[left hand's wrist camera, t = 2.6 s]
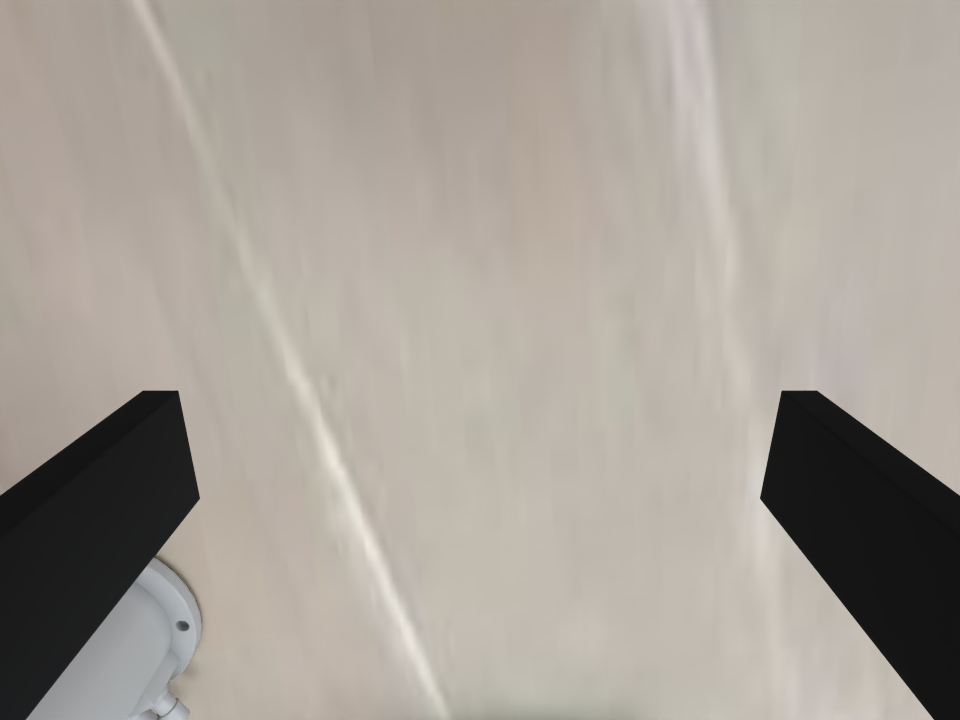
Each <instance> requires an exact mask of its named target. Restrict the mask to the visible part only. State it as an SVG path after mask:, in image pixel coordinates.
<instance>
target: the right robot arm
mask: <svg viewBox="0 0 960 720" xmlns="http://www.w3.org/2000/svg"><path fill="white" fill-rule="evenodd" d="M201 630H202V623H201V616H200V611H199V609H198V606H197V603H196V601H195V598H194V597H193V595H192V594H191V592H190V590H189V589H188V587H187V586H186V584H185V583H184V582H183V581H182V580H181V579H180V578H179V577H178V576H177V575H176V574H175V573H174V571H172V570H171V569H170V568H168V567H167V566H166V565H165V564H163V563H162V562H161V561H159V560H158V559H156V558H153V559H152V560H151V561H150V563H149V564H148V565H147V567H146V568H145V569H144V570H143V572H142V573H141V574H140V575H139V577H138V578H137V579H136V580H135V582H134V583H133V584H132V586H131V587H130V588H129V589H128V591H127V592H126V593H125V594H124V596H123V597H122V598H121V600H120V601H119V602H118V603H117V605H116V606H115V607H114V608H113V610H112V611H111V612H110V614H109V615H108V616H107V617H106V619H105V620H104V621H103V622H102V624H101V625H100V626H99V627H98V629H97V630H96V631H95V633H94V634H93V635H92V636H91V638H90V639H89V640H88V641H87V643H86V644H85V645H84V647H83V648H82V649H81V650H80V652H79V653H78V654H77V655H76V657H75V658H74V659H73V661H72V662H71V663H70V664H69V666H68V667H67V668H66V669H65V671H64V672H63V673H62V674H61V676H60V677H59V678H58V680H57V681H56V682H55V683H54V685H53V686H52V687H51V688H50V690H49V691H48V692H47V694H46V695H45V696H44V697H43V699H42V700H41V701H40V702H39V704H38V705H37V706H36V708H35V709H34V710H33V711H32V713H31V714H30V715H29V716H28V718H27V719H26V720H186V719H187V717H188V716H189V713H190V711H189V709H188V708H187V707H186V706H185V705H184V704H183V703H182V702H181V701H180V700H179V699H178V698H175V697H174V696H173V695H172V694H171V693H170V692H169V688H170V685H169V684H168V682H170V681H171V680H173V679H174V678H176V677H177V676H178V675H179V674H180V673H181V672H182V671H183V670H184V669H185V668H186V667H187V665H188V664H189V662H190V660H191V659H192V657H193V655H194V653H195V652H196V649H197V647H198V644H199V642H200V639H201ZM151 708H152V709H153V710H154V711H155V712H156V713H157V714H156V713H154V712H153V711H152V710H151Z"/></svg>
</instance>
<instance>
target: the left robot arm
mask: <svg viewBox="0 0 960 720" xmlns="http://www.w3.org/2000/svg"><path fill="white" fill-rule="evenodd" d="M199 499H200V496H199V491H198V486H197V481H196V477H195V472H194V467H193V462H192V457H191V452H190V447H189V442H188V437H187V432H186V427H185V422H184V417H183V412H182V407H181V402H180V397H179V392H178V391H142V392H141V393H139V394H138V395H136V396H135V397H134V398H132V399H131V400H130V401H128V402H127V403H126V404H124V405H123V406H122V407H120V408H119V409H117V410H116V411H115V412H113V413H112V414H111V415H109V416H108V417H107V418H105V419H104V420H102V421H101V422H100V423H98V424H97V425H96V426H94V427H93V428H92V429H90V430H89V431H88V432H86V433H85V434H83V435H82V436H81V437H79V438H78V439H77V440H75V441H74V442H73V443H71V444H70V445H69V446H67V447H66V448H64V449H63V450H62V451H60V452H59V453H58V454H56V455H55V456H54V457H52V458H51V459H49V460H48V461H47V462H45V463H44V464H43V465H41V466H40V467H39V468H37V469H36V470H35V471H33V472H32V473H30V474H29V475H28V476H26V477H25V478H24V479H22V480H21V481H20V482H18V483H17V484H15V485H14V486H13V487H11V488H10V489H9V490H7V491H6V492H5V493H3V494H2V495H1V496H0V720H26V719H27V718H28V716H29V715H30V714H31V713H32V711H33V710H34V709H35V708H36V706H37V705H38V704H39V702H40V701H41V700H42V699H43V697H44V696H45V695H46V694H47V692H48V691H49V690H50V688H51V687H52V686H53V685H54V683H55V682H56V681H57V680H58V678H59V677H60V676H61V674H62V673H63V672H64V671H65V669H66V668H67V667H68V666H69V664H70V663H71V662H72V661H73V659H74V658H75V657H76V655H77V654H78V653H79V652H80V650H81V649H82V648H83V647H84V645H85V644H86V643H87V641H88V640H89V639H90V638H91V636H92V635H93V634H94V633H95V631H96V630H97V629H98V627H99V626H100V625H101V624H102V622H103V621H104V620H105V619H106V617H107V616H108V615H109V614H110V612H111V611H112V610H113V608H114V607H115V606H116V605H117V603H118V602H119V601H120V600H121V598H122V597H123V596H124V594H125V593H126V592H127V591H128V589H129V588H130V587H131V586H132V584H133V583H134V582H135V580H136V579H137V578H138V577H139V575H140V574H141V573H142V572H143V570H144V569H145V568H146V567H147V565H148V564H149V563H150V561H151V560H152V559H153V558H154V556H155V555H156V554H157V553H158V551H159V550H160V549H161V547H162V546H163V545H164V544H165V542H166V541H167V540H168V539H169V537H170V536H171V535H172V533H173V532H174V531H175V530H176V528H177V527H178V526H179V525H180V523H181V522H182V521H183V519H184V518H185V517H186V516H187V514H188V513H189V512H190V511H191V509H192V508H193V507H194V506H195V504H196V503H197V502H198V500H199ZM760 499H761V500H762V502H763V503H764V504H765V506H766V507H767V508H768V509H769V511H770V512H771V513H772V514H773V516H774V517H775V518H776V519H777V521H778V522H779V523H780V525H781V526H782V527H783V528H784V530H785V531H786V532H787V533H788V535H789V536H790V537H791V539H792V540H793V541H794V542H795V544H796V545H797V546H798V547H799V549H800V550H801V551H802V553H803V554H804V555H805V556H806V558H807V559H808V560H809V561H810V563H811V564H812V565H813V567H814V568H815V569H816V570H817V572H818V573H819V574H820V575H821V577H822V578H823V579H824V580H825V582H826V583H827V584H828V586H829V587H830V588H831V589H832V591H833V592H834V593H835V594H836V596H837V597H838V598H839V600H840V601H841V602H842V603H843V605H844V606H845V607H846V608H847V610H848V611H849V612H850V614H851V615H852V616H853V617H854V619H855V620H856V621H857V622H858V624H859V625H860V626H861V627H862V629H863V630H864V631H865V633H866V634H867V635H868V636H869V638H870V639H871V640H872V641H873V643H874V644H875V645H876V647H877V648H878V649H879V650H880V652H881V653H882V654H883V655H884V657H885V658H886V659H887V661H888V662H889V663H890V664H891V666H892V667H893V668H894V669H895V671H896V672H897V673H898V674H899V676H900V677H901V678H902V680H903V681H904V682H905V683H906V685H907V686H908V687H909V688H910V690H911V691H912V692H913V694H914V695H915V696H916V697H917V699H918V700H919V701H920V702H921V704H922V705H923V706H924V708H925V709H926V710H927V711H928V713H929V714H930V715H931V716H932V718H933V719H934V720H960V496H959V495H958V494H957V493H955V492H954V491H953V490H951V489H950V488H949V487H947V486H946V485H945V484H943V483H942V482H940V481H939V480H938V479H936V478H935V477H934V476H932V475H931V474H930V473H928V472H927V471H925V470H924V469H923V468H921V467H920V466H919V465H917V464H916V463H915V462H913V461H912V460H911V459H909V458H908V457H906V456H905V455H904V454H902V453H901V452H900V451H898V450H897V449H896V448H894V447H893V446H891V445H890V444H889V443H887V442H886V441H885V440H883V439H882V438H881V437H879V436H878V435H877V434H875V433H874V432H872V431H871V430H870V429H868V428H867V427H866V426H864V425H863V424H862V423H860V422H859V421H858V420H856V419H855V418H853V417H852V416H851V415H849V414H848V413H847V412H845V411H844V410H843V409H841V408H840V407H838V406H837V405H836V404H834V403H833V402H832V401H830V400H829V399H828V398H826V397H825V396H824V395H822V394H821V393H819V392H818V391H782V392H781V397H780V402H779V407H778V412H777V417H776V422H775V427H774V432H773V437H772V442H771V447H770V452H769V457H768V462H767V467H766V472H765V476H764V481H763V486H762V491H761V496H760Z"/></svg>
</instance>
